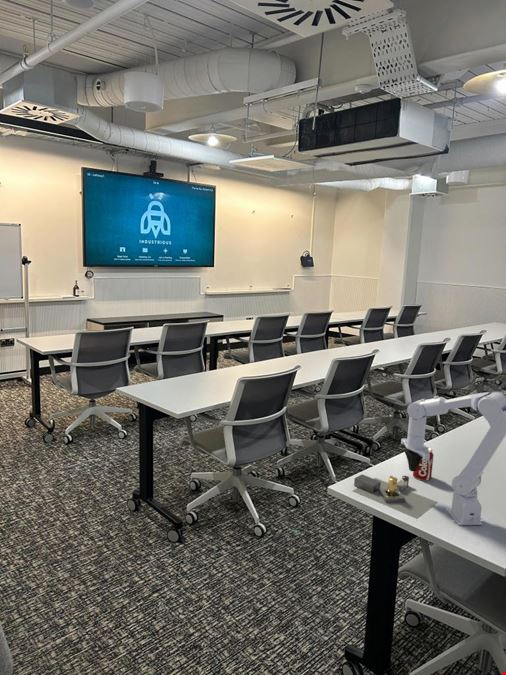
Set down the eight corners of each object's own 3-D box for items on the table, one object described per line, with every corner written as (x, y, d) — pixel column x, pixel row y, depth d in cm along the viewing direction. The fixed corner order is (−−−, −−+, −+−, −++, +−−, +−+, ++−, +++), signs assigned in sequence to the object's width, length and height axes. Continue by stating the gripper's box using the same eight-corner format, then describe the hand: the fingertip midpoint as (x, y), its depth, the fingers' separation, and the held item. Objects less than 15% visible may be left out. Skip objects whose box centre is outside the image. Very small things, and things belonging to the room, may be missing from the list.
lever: (409, 485, 183) (410, 477, 182) (401, 492, 177) (401, 484, 176) (403, 483, 184) (403, 475, 184) (394, 490, 178) (395, 482, 178)
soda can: (409, 475, 193) (411, 446, 190) (423, 473, 195) (425, 445, 193) (420, 483, 186) (423, 453, 184) (434, 480, 189) (437, 451, 187)
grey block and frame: (404, 502, 170) (405, 494, 170) (364, 502, 169) (364, 494, 169) (389, 481, 186) (389, 474, 185) (351, 481, 184) (352, 474, 184)
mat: (438, 503, 171) (438, 502, 171) (416, 520, 160) (417, 518, 160) (375, 478, 188) (375, 477, 188) (352, 492, 177) (352, 491, 177)
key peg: (397, 500, 171) (399, 482, 170) (389, 500, 171) (390, 481, 170) (393, 494, 176) (395, 475, 175) (385, 493, 176) (387, 475, 175)
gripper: (438, 441, 166) (435, 478, 169) (414, 426, 180) (410, 460, 182) (420, 442, 164) (417, 480, 167) (397, 427, 178) (394, 462, 180)
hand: (412, 470), depth 174 cm, fingers closed
